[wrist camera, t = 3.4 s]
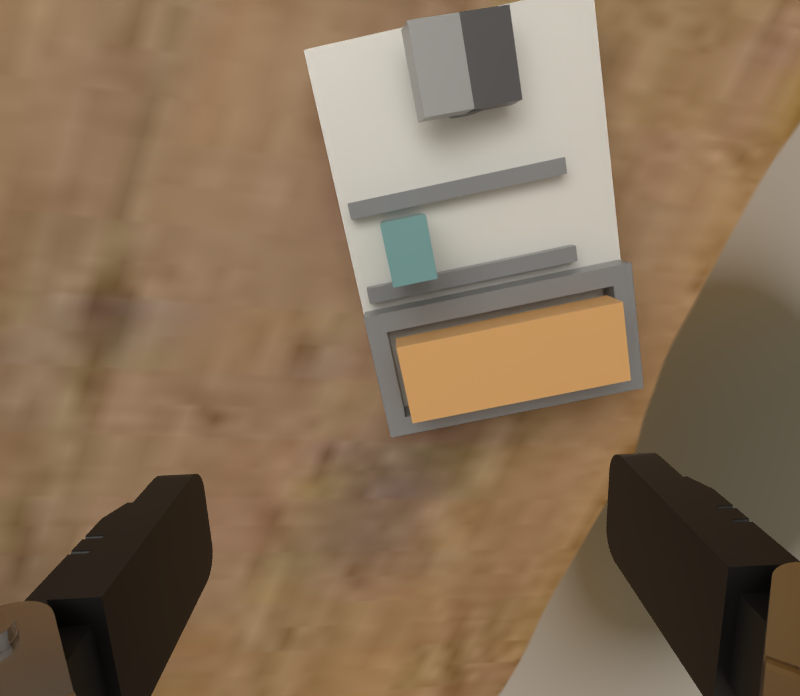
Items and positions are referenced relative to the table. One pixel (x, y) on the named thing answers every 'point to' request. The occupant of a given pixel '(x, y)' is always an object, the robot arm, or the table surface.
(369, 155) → the switch panel
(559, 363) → the paddle button
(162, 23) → the table surface
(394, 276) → the slide switch
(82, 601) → the robot arm
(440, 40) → the rocker switch
